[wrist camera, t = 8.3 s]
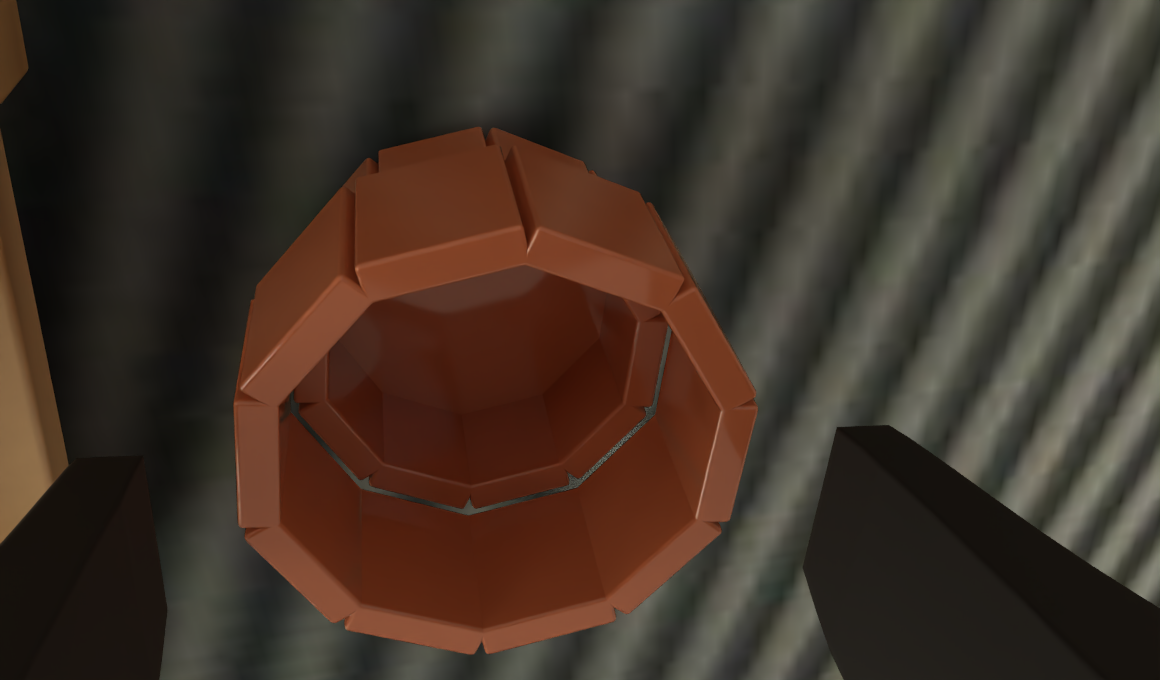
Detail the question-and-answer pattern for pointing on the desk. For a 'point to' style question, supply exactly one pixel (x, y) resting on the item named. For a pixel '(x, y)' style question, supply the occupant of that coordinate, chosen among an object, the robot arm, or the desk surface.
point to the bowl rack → (21, 337)
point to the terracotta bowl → (484, 399)
